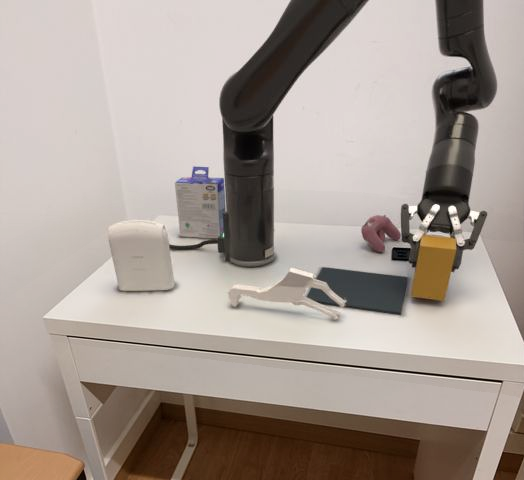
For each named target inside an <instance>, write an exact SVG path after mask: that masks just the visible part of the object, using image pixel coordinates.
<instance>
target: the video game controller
mask: <svg viewBox="0 0 524 480" xmlns="http://www.w3.org/2000/svg"><path fill="white" fill-rule="evenodd" d="M360 230H361V236H362V238H363V240H364V241H366V242H367V244H368V245H369V246H370V247H371V248H372V249H373V250H374V251H375V252H377V253H383V252H384V251H385V250H386V246H385V243H384V241H385V240H386V236H387V237H389V238H390V239H392V240H394V241H398V240H401V230H399V228H397V226H396V225H395V224H394V223H393V222H392V221H391V219H390V217H388V216H387V215H386V214H383V215H382V214H376V215H373V216H371V217H369V218H368V219H367V220H366V222H365V223H364V224H363V225H362V226H361V229H360Z"/></svg>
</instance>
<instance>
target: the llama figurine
mask: <svg viewBox="0 0 524 480" xmlns="http://www.w3.org/2000/svg"><path fill="white" fill-rule="evenodd" d="M316 278H317V276H316V275H315V273H313V272H312V273H311V272H308V271H305V270H301V269H297V268H294V267H290V268H289V270H288V271H287V273H286V274H285V276H283V277H281V278H280V279H279V280H278V281H276V282H274V283H273V284H272V285H270V286H268V287H264V288H261V287H259V286H253V285H244V284H234V285H232V286H231V287H230V288H229V290H228V291H227V295H228V299H229V300H230V303H231V306H232V307H234V308H237V306H238V305H239V301H240V299H241V298H242V296H245V297H250V298H253V299H255V300H258V301H263V302H270V303H286V304H292V305H294V306H305V307H308V308H310V309H313V310H316V311H318V312H320V313H323V314H325V315H327V316H330V317H332V320H333V321H334V320H337V319H339V316H338V315H340V312H339V311H338V310H335V309H333V308H330V306H329V307H328V306H326V305H325V304H321V303H317V302H315V301H313V300H311V299H309V298H308V297H307V296H304V295H305V292H306V290H307V288H318V289H321V290H323V291H324V292H325V293H326V294H327V295H328V296H329V297H330V298H331V299H332V300H334V301H335V302H336V303H338V304H339V305H340V306H338V307H339V308H340V307H341V309H343V308H345V307H344V306H345V305H344V304H345V302H346V301H347V300H345V299H344V300H343V299H342V298H340V297H339V296H338V295H337V294H335V293H334V292H333V291H332V290H331V289H330V288H329V287H328V285H327V283H326V282H323V281H319V280H316ZM241 295H242V296H241Z"/></svg>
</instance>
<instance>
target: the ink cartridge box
mask: <svg viewBox="0 0 524 480" xmlns="http://www.w3.org/2000/svg"><path fill="white" fill-rule="evenodd" d="M209 167H210V166H192V170H191V176H183V177H181V178H179V179H178V180H176V181H175V182H174V186H175V187H174V188H175V196H176V197H175V199H176V208H177V216H178V224H179V225H178V227H179V237H185V238H200V239H201V238H203V239H215V240H217V237H219V236H220V235H221V234H222V233H223V232H224V230H223V214H224V213H225V212H226V195H225V178H224V177H209V172H210V171H209V170H210V169H209ZM198 171H203V172H204V173H196V172H198Z"/></svg>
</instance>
